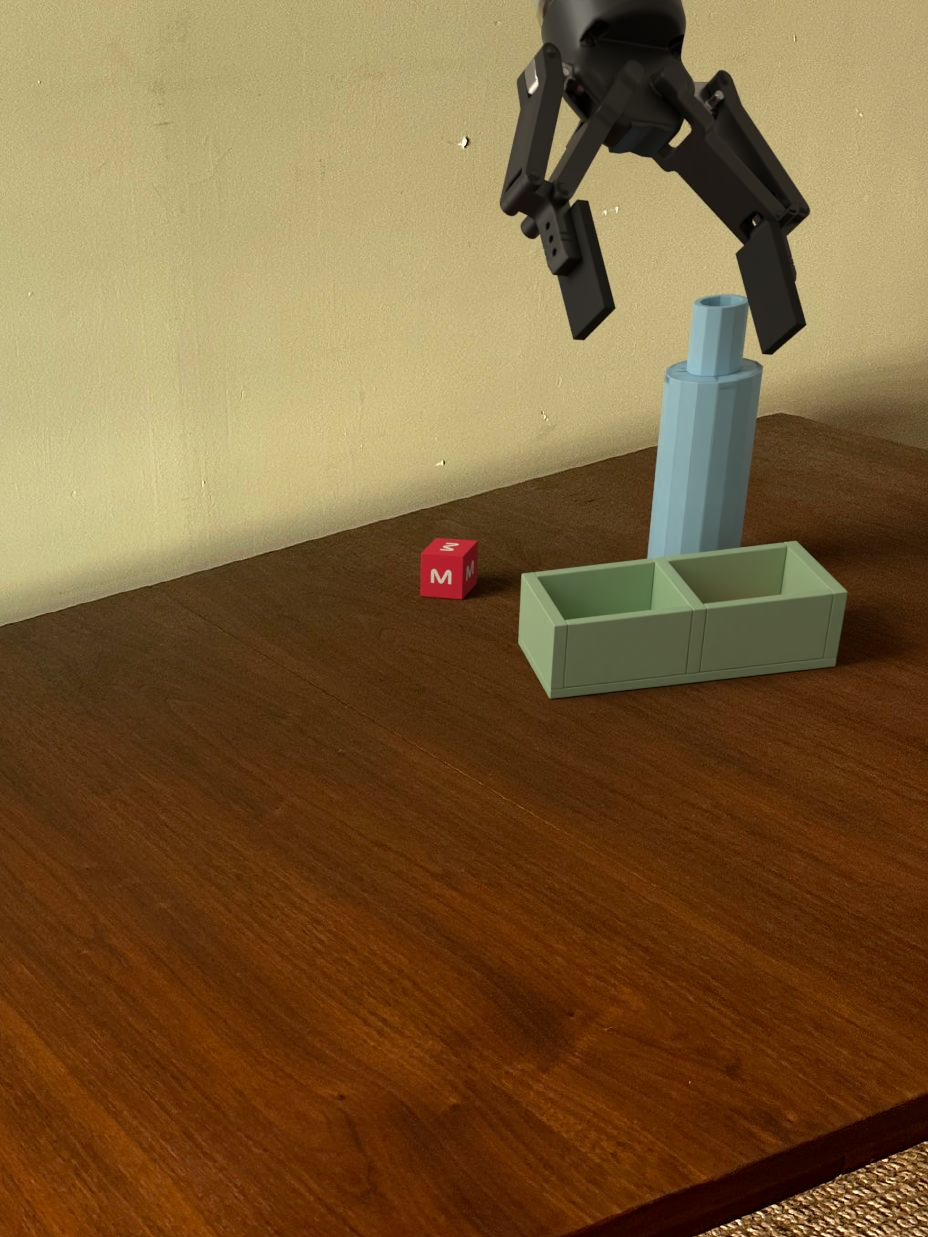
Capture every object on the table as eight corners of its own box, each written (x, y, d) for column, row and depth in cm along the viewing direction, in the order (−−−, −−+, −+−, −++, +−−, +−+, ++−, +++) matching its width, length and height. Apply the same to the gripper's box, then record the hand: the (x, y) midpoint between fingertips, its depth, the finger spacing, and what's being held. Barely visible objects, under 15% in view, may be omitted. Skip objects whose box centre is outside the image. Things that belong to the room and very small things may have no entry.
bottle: (721, 552, 122) (754, 284, 111) (748, 582, 117) (784, 305, 107) (636, 562, 122) (660, 296, 112) (659, 592, 118) (687, 318, 107)
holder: (785, 612, 113) (796, 540, 110) (835, 666, 106) (848, 591, 103) (517, 643, 114) (521, 573, 111) (549, 699, 107) (554, 626, 104)
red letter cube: (462, 599, 121) (463, 556, 119) (420, 596, 122) (420, 553, 120) (476, 583, 123) (478, 540, 121) (435, 580, 124) (436, 537, 122)
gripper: (726, 75, 109) (809, 385, 106) (387, 23, 100) (468, 361, 97) (817, -25, 102) (909, 303, 99) (462, -91, 93) (552, 269, 90)
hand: (691, 333), depth 98 cm, fingers open, 13 cm apart
